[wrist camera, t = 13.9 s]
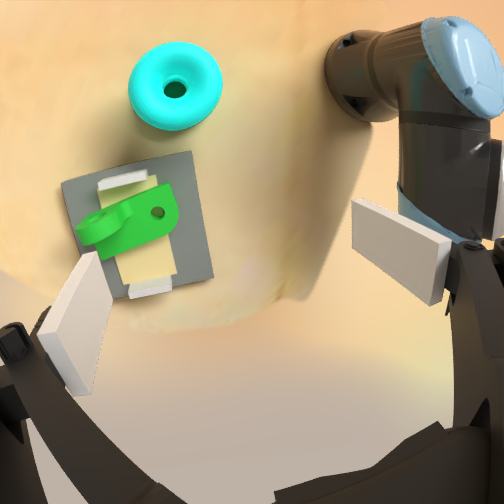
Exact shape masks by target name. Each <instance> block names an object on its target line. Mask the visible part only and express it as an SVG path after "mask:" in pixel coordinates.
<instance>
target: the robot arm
mask: <svg viewBox="0 0 504 504" xmlns="http://www.w3.org/2000/svg"><path fill="white" fill-rule="evenodd" d="M325 75H326V80H327V84H328V87H329V89H330V92H331V94H332V96H333V97H334V99H335V100H336V102H337V103H338V104H339V105H340V107H341V108H342V109H343V110H344V111H346V112H347V113H348V114H350V115H351V116H353V117H354V118H357V119H359V120H362V121H366V122H385V121H389V120H392V119H394V118H396V117H398V116H399V177H398V182H397V190H398V212H399V214H397V213H395V212H393V211H391V210H389V209H386V208H384V207H382V206H380V205H377V204H375V203H373V202H370V201H368V200H366V199H357V200H352V248H353V249H354V250H355V251H357V252H358V253H360V254H361V255H362V256H364V257H365V258H367V259H368V260H369V261H370V262H372V263H373V264H375V265H376V266H377V267H379V268H380V269H381V270H383V271H384V272H385V273H387V274H388V275H389V276H391V277H392V278H393V279H395V280H396V281H397V282H398V283H400V284H401V285H402V286H404V287H405V288H406V289H408V290H409V291H410V292H412V293H413V294H414V295H415V296H417V297H418V298H419V299H420V300H422V301H423V302H424V303H426V304H427V305H428V306H432V305H434V304H436V303H439V302H441V301H442V297H443V293H444V288H446V289H447V290H448V291H450V296H449V300H448V305H447V309H446V313H445V315H446V316H447V315H448V313H449V312H450V318H451V330H452V343H453V363H454V416H453V427H452V428H448V429H444V428H443V427H442V425H441V424H440V423H439V422H438V421H437V422H435V423H433V424H432V425H430V426H428V427H426V428H425V429H423V430H421V431H419V432H418V433H416V434H414V435H413V436H411V437H409V438H407V439H405V440H404V441H403V442H402V443H400V444H399V445H398V446H397V447H396V448H395V449H394V450H393V451H391V452H390V453H389V454H388V455H386V456H385V457H384V458H383V459H382V460H380V461H379V462H378V463H377V464H375V465H374V466H373V467H371V468H368V469H364V470H359V471H354V472H349V473H343V474H337V475H331V476H323V477H319V478H316V479H313V480H310V481H307V482H304V483H301V484H298V485H294V486H291V487H288V488H285V489H281V490H278V491H274V495H275V500H276V502H274V503H272V504H504V238H499V237H501V236H502V235H504V141H501V140H496V139H492V138H491V137H490V119H493V118H495V117H497V116H499V115H500V114H501V113H502V112H503V111H504V70H503V66H502V63H501V61H500V58H499V56H498V54H497V52H496V50H495V48H494V47H493V46H492V44H491V43H490V41H489V40H488V38H487V37H486V36H485V34H484V33H483V32H482V31H481V30H480V29H479V28H478V27H476V26H475V25H474V24H472V23H471V22H469V21H468V20H465V19H463V18H460V17H456V16H448V17H441V18H428V19H425V20H424V21H421V22H418V23H414V24H410V25H407V26H404V27H401V28H397V29H394V30H391V31H388V32H378V31H370V30H358V31H353V32H350V33H348V34H346V35H343V36H341V37H340V38H338V39H337V40H336V41H335V42H334V43H333V44H332V46H331V47H330V49H329V51H328V54H327V57H326V62H325ZM413 123H414V124H413ZM424 124H425V125H424ZM434 125H435V126H434ZM482 239H487V240H491V241H495V243H494V249H493V250H486V248H485V247H484V246H483V245H482V244H480V243H481V242H482ZM112 303H113V298H112V295H111V293H110V290H109V287H108V284H107V281H106V278H105V275H104V272H103V269H102V266H101V263H100V260H99V257H98V253H97V251H94V252H90V253H86V254H83V255H82V256H81V258H80V259H79V261H78V263H77V264H76V266H75V267H74V269H73V271H72V272H71V274H70V276H69V277H68V279H67V281H66V282H65V284H64V286H63V287H62V289H61V291H60V293H59V294H58V296H57V298H56V300H55V301H54V303H53V305H52V306H49V307H48V308H47V309H46V310H45V311H44V312H43V313H42V314H41V316H40V318H39V319H38V322H37V323H36V325H35V328H34V329H33V330H32V332H31V334H30V336H29V335H28V334H27V331H26V329H25V327H24V325H23V324H22V323H20V322H14V323H10V324H8V325H6V326H4V327H2V328H1V329H0V357H1V359H2V360H3V362H4V364H5V365H3V366H0V504H48V502H47V499H46V496H45V493H44V490H43V487H42V484H41V480H40V477H39V474H38V470H37V467H36V463H35V460H34V455H33V451H32V447H31V443H30V438H29V434H28V429H27V424H26V419H27V418H31V420H32V421H33V423H34V425H35V427H36V428H37V430H38V432H39V434H40V435H41V437H42V439H43V440H44V442H45V443H46V445H47V447H48V448H49V450H50V451H51V453H52V454H53V456H54V457H55V459H56V460H57V462H58V463H59V465H60V466H61V468H62V469H63V471H64V472H65V473H66V475H67V476H68V477H69V479H70V480H71V482H72V483H73V484H74V486H75V487H76V488H77V489H78V491H79V492H80V493H81V495H82V496H83V497H84V499H85V500H86V501H87V502H88V503H89V504H187V503H186V502H184V501H183V500H182V499H180V498H179V497H177V496H176V495H175V494H174V493H172V492H171V491H170V490H168V489H167V488H166V487H165V486H163V485H162V484H160V483H156V482H155V481H154V480H153V479H151V478H150V477H149V476H148V475H147V474H145V473H144V472H143V471H142V470H141V469H140V468H138V467H137V465H135V464H134V463H133V462H132V461H131V460H130V459H129V458H128V457H127V456H126V455H125V454H124V453H123V452H122V451H121V450H120V449H119V448H118V447H116V445H115V444H113V442H112V441H111V440H109V438H108V437H107V436H106V435H105V434H104V433H103V432H102V431H101V430H100V429H99V428H98V427H97V426H96V424H95V423H94V422H93V421H92V420H91V419H90V418H89V417H88V416H87V414H86V413H85V412H84V411H83V410H82V409H81V407H80V406H79V405H78V404H77V403H76V402H75V400H74V399H73V398H72V397H71V395H70V394H69V393H68V392H67V390H66V389H65V385H66V386H67V388H68V390H69V391H70V393H71V394H72V396H84V395H91V393H92V387H93V382H94V377H95V372H96V368H97V363H98V358H99V353H100V350H101V345H102V341H103V337H104V332H105V329H106V325H107V321H108V317H109V314H110V310H111V306H112Z"/></svg>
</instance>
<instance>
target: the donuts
mask: <svg viewBox="0 0 504 504" xmlns="http://www.w3.org/2000/svg"><path fill="white" fill-rule="evenodd" d="M171 82H181V83H182V84H183V85H184V86H185V87H186V93H185V94H184V95H183V96H182V97H180V98H176V99H172V98H169V97H167V96H166V95H165V94H164V89H165V87H166V85H168V84H169V83H171ZM222 86H223V81H222V74H221V70H220V68H219V66H218V64H217V62H216V61H215V59H214V58H213V57H212V56H211V55H210V54H209V53H208V52H207V51H206V50H204V49H203V48H201V47H199V46H197V45H194V44H191V43H186V42H171V43H166V44H162V45H160V46H157V47H155V48H153V49H152V50H150V51H149V52H147V53H146V54H145V55H144V56H143V57H142V58H141V59H140V60H139V61H138V62H137V64H136V65H135V67H134V68H133V70H132V73H131V75H130V79H129V84H128V94H129V99H130V103H131V105H132V107H133V109H134V111H135V112H136V114H137V115H138V116H139V117H140V118H141V119H142V120H143V121H145V122H146V123H148V124H149V125H151V126H153V127H156V128H159V129H162V130H168V131H177V130H183V129H186V128H189V127H192V126H194V125H196V124H198V123H200V122H201V121H203V120H204V119H205V118H206V117H207V116H209V114H210V113H211V112H212V111H213V110H214V108H215V107H216V105H217V103H218V101H219V99H220V96H221V93H222Z"/></svg>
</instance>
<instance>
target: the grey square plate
mask: <svg viewBox="0 0 504 504" xmlns="http://www.w3.org/2000/svg"><path fill="white" fill-rule="evenodd" d="M168 181H169V182H170V185H171V188H172V191H173V193H174V196H175V199H176V201H177V204H178V212H179V216H178V221H177V224H176V226H175V227H174V229H173V230H172V231H171V232H170V233H168V234H167V235H165V236H162V237H160V238H157V239H155V240H152V241H150V242H147V243H145V244H142V245H140V246H137V247H135V248H132V249H130V250H127V251H125V252H122V253H120V254H117V255H115V256H112V257H110V258H108V259H105V260H103V261H102V260H101V258H100V256H99V254H98V257H99V260H100V263H101V266H102V269H103V272H104V275H105V278H106V281H107V284H108V287H109V290H110V293H111V295H112V298H113V299H116V298H121V297H126V296H129V297H130V299H134V298H139V297H144V296H148V295H153V294H158V293H163V292H168V291H172V287H174V286H179V285H184V284H188V283H193V282H198V281H202V280H207V279H212V278H214V274H213V269H212V264H211V259H210V254H209V248H208V243H207V238H206V232H205V227H204V221H203V216H202V210H201V204H200V199H199V193H198V187H197V181H196V175H195V169H194V163H193V156H192V151H186V152H181V153H176V154H171V155H166V156H161V157H156V158H152V159H147V160H143V161H138V162H134V163H130V164H126V165H122V166H118V167H114V168H110V169H106V170H102V171H98V172H95V173H91V174H87V175H84V176H80V177H77V178H73V179H70V180H67V181H64V182H62V183H61V186H62V190H63V195H64V199H65V203H66V207H67V210H68V214H69V218H70V222H71V225H72V229H73V232H74V236H75V239H76V242H77V245H78V249H79V252H80V255H81V256H82V255H83V254H86V253H90V252H94V251H97V249H96V247H95V245H94V243H93V244H90V245H86V246H83V245H82V243H81V241H80V239H79V237H78V235H77V233H76V231H75V228H76V227H77V226H78V225H79V223H80V222H81V221H82V220H83V219H84V218H85V217H86V216H87V215H89V214H91V213H94V212H96V211H98V210H100V209H103V208H105V207H107V206H109V205H112V204H114V203H116V202H119V201H121V200H123V199H126V198H128V197H130V196H133V195H135V194H138V193H140V192H143V191H145V190H148V189H150V188H153V187H155V186H158V185H160V184H163V183H165V182H168ZM164 212H165V211H164V209H163V208H161V207H159V206H157V207H154V208H153V209H152V213H153V214H154V215H155V216H162V215H163V214H164ZM97 253H98V252H97Z"/></svg>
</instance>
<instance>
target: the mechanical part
mask: <svg viewBox="0 0 504 504" xmlns="http://www.w3.org/2000/svg"><path fill="white" fill-rule="evenodd" d="M157 206H159V207H161V208H163V209H164V211H165V212H164V214H163V215H162V216H155V215H154V214H153V213H152V209H153V208H154V207H157ZM178 216H179V212H178V204H177V201H176V199H175V196H174V193H173V191H172V188H171V185H170V182H169V181H168V182H165V183H163V184H160V185H158V186H155V187H153V188H150V189H148V190H145V191H143V192H140V193H138V194H135V195H133V196H130V197H128V198H126V199H123V200H121V201H119V202H116V203H114V204H112V205H109V206H107V207H105V208H103V209H100V210H98V211H96V212H94V213H91V214H89V215H87V216H86V217H85V218H84V219H83V220H82V221H81V222H80V223H79V225H78V226H77V227H76V228H75V231H76V233H77V235H78V237H79V239H80V241H81V243H82V245H83V246H86V245H90V244H93V243H94V245H95V247H96V249H97V252H98V254H99V256H100V258H101V260H102V261H103V260H105V259H108V258H110V257H112V256H115V255H117V254H120V253H122V252H125V251H127V250H130V249H132V248H135V247H137V246H140V245H142V244H145V243H147V242H150V241H152V240H155V239H157V238H160V237H162V236H165V235H167V234H168V233H170V232H171V231H172V230H173V229H174V227H175V226H176V224H177V221H178Z"/></svg>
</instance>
